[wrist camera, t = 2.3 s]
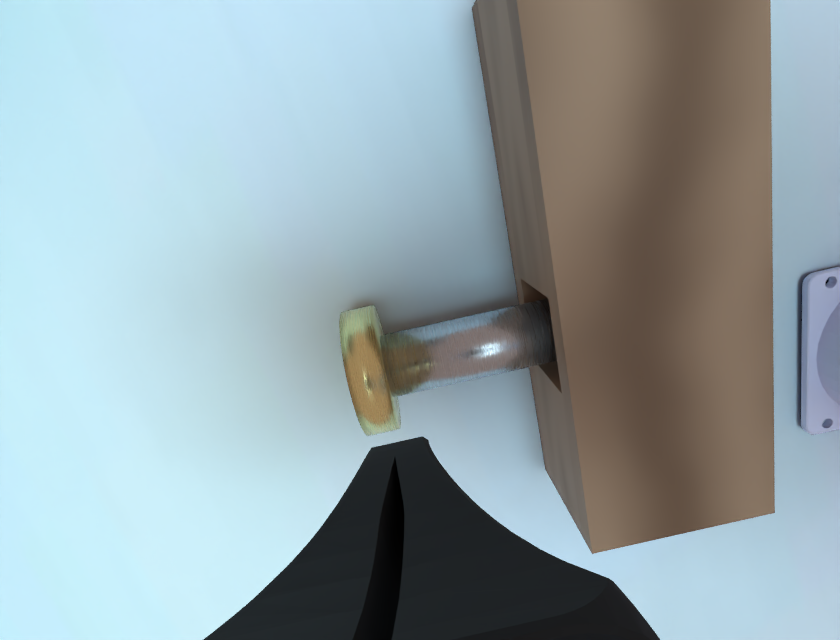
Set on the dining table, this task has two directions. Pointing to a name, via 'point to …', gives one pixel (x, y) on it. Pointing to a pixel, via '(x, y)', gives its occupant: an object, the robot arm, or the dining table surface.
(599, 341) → the drawbar beam
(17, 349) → the dining table surface
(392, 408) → the steel pin
